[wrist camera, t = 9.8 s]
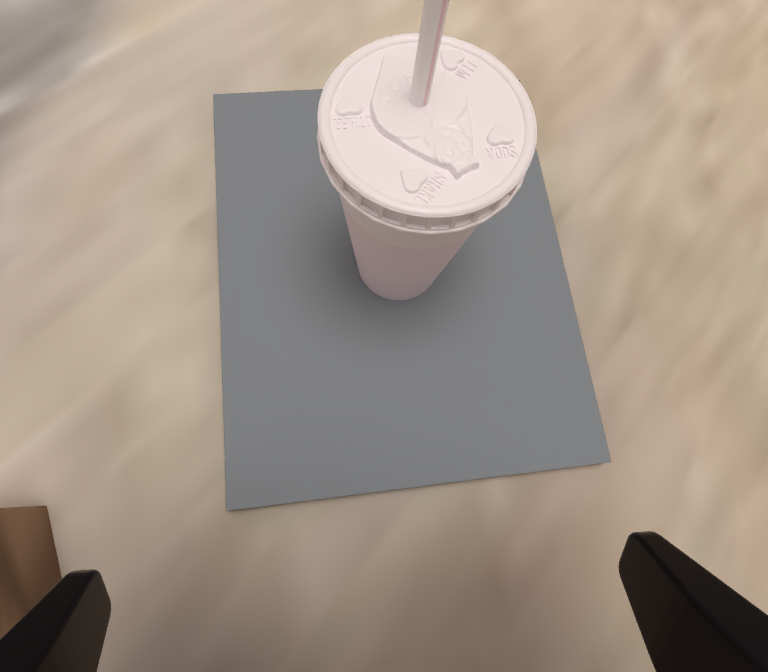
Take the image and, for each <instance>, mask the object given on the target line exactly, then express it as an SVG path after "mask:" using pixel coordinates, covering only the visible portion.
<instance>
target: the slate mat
mask: <svg viewBox="0 0 768 672" xmlns="http://www.w3.org/2000/svg"><path fill="white" fill-rule="evenodd" d="M519 82H520V80H519ZM322 91H323V89H317V90H295V91H274V92H253V93H232V94H213V102H214V133H215V165H216V196H217V227H218V259H219V290H220V321H221V353H222V384H223V416H224V447H225V478H226V510H227V511H230V510H238V509H246V508H254V507H262V506H270V505H278V504H285V503H293V502H301V501H309V500H317V499H325V498H333V497H340V496H348V495H356V494H364V493H372V492H380V491H388V490H395V489H403V488H411V487H419V486H427V485H435V484H443V483H450V482H458V481H466V480H474V479H482V478H490V477H498V476H505V475H513V474H521V473H529V472H537V471H545V470H553V469H560V468H568V467H576V466H584V465H592V464H600V463H608V462H611V458H610V454H609V450H608V446H607V442H606V438H605V433H604V429H603V425H602V421H601V417H600V413H599V408H598V404H597V400H596V396H595V392H594V388H593V383H592V379H591V375H590V371H589V367H588V363H587V359H586V354H585V350H584V346H583V342H582V338H581V334H580V329H579V325H578V321H577V317H576V313H575V309H574V304H573V300H572V296H571V292H570V288H569V284H568V279H567V275H566V271H565V267H564V263H563V259H562V254H561V250H560V246H559V242H558V238H557V234H556V230H555V225H554V221H553V217H552V213H551V209H550V205H549V200H548V196H547V192H546V188H545V184H544V180H543V175H542V171H541V167H540V163H539V159H538V155H537V150H536V147H535V151H534V155H533V158H532V160H531V163H530V165H529V167H528V169H527V171H526V174H525V177H524V179H523V182H522V185H521V187H520V188H519V190H518V191H517V193H516V194H515V195H514V197H513V198H512V199H511V201H510V202H509V203H508V205H507V206H506V207H505V208H503V209H502V210H501V211H499V212H498V213H497V214H495V215H494V216H492V217H491V218H490V219H488V220H487V221H486V222H484V223H481V224H479V225H478V226H477V227H476V229H475V230H474V231H473V232H472V234H471V235H470V236H469V237H468V239H467V240H466V241H465V242H464V244H463V245H462V246H461V248H460V249H459V250H458V251H457V253H456V254H455V255H454V256H453V258H452V259H451V260H450V261H449V263H448V264H447V265H446V267H445V268H444V269H443V270H442V272H441V273H440V274H439V275H438V277H437V278H436V279H435V280H434V282H433V283H432V284H431V285H430V287H429V288H428V289H427V290H426V291H425V292H424V293H422V294H421V295H419V296H417V297H415V298H412V299H409V300H402V301H396V300H389V299H386V298H383V297H381V296H379V295H377V294H375V293H374V292H373V291H371V290H370V289H369V288H368V287H367V286H366V284H365V283H364V282H363V280H362V278H361V276H360V273H359V269H358V265H357V261H356V257H355V253H354V249H353V246H352V242H351V238H350V234H349V230H348V226H347V222H346V218H345V214H344V210H343V206H342V202H341V198H340V195H339V192H338V191H337V190H336V189H335V188H334V187H333V185H332V184H331V182H330V180H329V178H328V176H327V174H326V172H325V170H324V168H323V165H322V163H321V161H320V155H319V148H318V141H317V132H318V106H319V101H320V97H321V93H322Z"/></svg>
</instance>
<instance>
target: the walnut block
mask: <svg viewBox="0 0 768 672" xmlns="http://www.w3.org/2000/svg"><path fill="white" fill-rule="evenodd" d="M61 579H62V577H61V572H60V568H59V563H58V558H57V553H56V548H55V544H54V539H53V534H52V529H51V524H50V520H49V515H48V510H47V506H37V507H17V508H0V639H1V638H2V637H3V636H4V635H5V634H6V633H7V632H8V631H9V630H10V629H11V628H12V627H13V626H14V625H15V624H16V623H17V622H18V621H19V620H20V619H21V618H22V617H23V616H24V615H25V614H26V613H27V612H28V611H29V610H30V609H31V608H32V607H33V606H34V605H36V604H37V603H38V602H39V601H40V600H41V599H42V598H43V597H44V596H45V595H46V594H47V593H48V592H49V591H50V590H51V589H52V588H53V587H54V586H55V585H56V584H57V583H58V582H59V581H60V580H61Z"/></svg>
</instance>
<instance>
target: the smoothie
mask: <svg viewBox="0 0 768 672" xmlns="http://www.w3.org/2000/svg"><path fill="white" fill-rule="evenodd" d="M448 4H449V0H424V6H423V13H422V19H421V26H420V32H419V33H405V34H398V35H392V36H388V37H385V38H381V39H378V40H376V41H373V42H371V43H369V44H367V45H365V46H362V47H361V48H359V49H358V50H356V51H354V52H353V53H352V54H350V55H349V56H348V57H346V58H345V59H344V60H343V61H342V62H341V63H340V64H339V65H338V66H337V67H336V69H335V70H334V71H333V73H332V74H331V75H330V77H329V78H328V80H327V82H326V84H325V86H324V88H323V91H322V93H321V97H320V101H319V106H318V132H317V141H318V148H319V155H320V161H321V163H322V165H323V168H324V170H325V172H326V174H327V176H328V178H329V180H330V182H331V184H332V185H333V187H334V188H335V189H336V190H337V191H338V192H339V195H340V198H341V202H342V206H343V210H344V214H345V218H346V222H347V226H348V230H349V234H350V238H351V242H352V246H353V249H354V253H355V257H356V261H357V265H358V269H359V273H360V276H361V278H362V280H363V282H364V283H365V284H366V286H367V287H368V288H369V289H370V290H371V291H373V292H374V293H375V294H377V295H379V296H381V297H383V298H386V299H389V300H396V301H402V300H409V299H412V298H415V297H417V296H419V295H421V294H422V293H424V292H425V291H426V290H427V289H428V288H429V287H430V285H431V284H432V283H433V282H434V280H435V279H436V278H437V277H438V275H439V274H440V273H441V272H442V270H443V269H444V268H445V267H446V265H447V264H448V263H449V261H450V260H451V259H452V258H453V256H454V255H455V254H456V253H457V251H458V250H459V249H460V248H461V246H462V245H463V244H464V242H465V241H466V240H467V239H468V237H469V236H470V235H471V234H472V232H473V231H474V230H475V229H476V227H477V226H478V225H479V224H481V223H484V222H486V221H487V220H488V219H490V218H491V217H492V216H494V215H495V214H497V213H498V212H499V211H501V210H502V209H503V208H505V207H506V206H507V205H508V203H509V202H510V201H511V199H512V198H513V197H514V195H515V194H516V193H517V191H518V190H519V188H520V187H521V185H522V182H523V179H524V177H525V174H526V171H527V169H528V167H529V165H530V163H531V160H532V158H533V155H534V151H535V147H536V139H537V126H536V118H535V114H534V110H533V107H532V104H531V101H530V99H529V97H528V95H527V93H526V91H525V89H524V88H523V86H522V85H521V83H520V82H519V80H518V79H517V78H516V76H515V75H514V74H513V73H512V72H511V71H510V70H509V69H508V68H507V67H506V66H505V65H504V64H503V63H502V62H500V61H499V60H498V59H496V58H495V57H494V56H492V55H491V54H489V53H488V52H487V51H485V50H483V49H481V48H479V47H477V46H475V45H473V44H471V43H469V42H466V41H463V40H460V39H457V38H454V37H450V36H445V35H442V34H443V29H444V24H445V19H446V14H447V9H448Z"/></svg>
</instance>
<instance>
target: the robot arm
mask: <svg viewBox="0 0 768 672" xmlns="http://www.w3.org/2000/svg"><path fill="white" fill-rule="evenodd" d="M619 573H620V577H621V580H622V583H623V585H624V588H625V591H626V593H627V596H628V599H629V602H630V604H631V607H632V610H633V612H634V615H635V618H636V621H637V623H638V626H639V629H640V631H641V634H642V637H643V640H644V642H645V645H646V648H647V650H648V653H649V655H650V658H651V660H652V663H653V665H654V668H655V670H656V672H768V615H767V614H765V613H764V612H763V611H761V610H760V609H759V608H757V607H756V606H755V605H753V604H752V603H751V602H749V601H748V600H747V599H745V598H744V597H743V596H741V595H740V594H738V593H737V592H736V591H734V590H733V589H732V588H730V587H729V586H728V585H726V584H725V583H724V582H722V581H721V580H720V579H718V578H717V577H716V576H714V575H713V574H712V573H710V572H709V571H708V570H706V569H705V568H704V567H702V566H701V565H699V564H698V563H697V562H695V561H694V560H693V559H691V558H690V557H689V556H687V555H686V554H685V553H683V552H682V551H681V550H679V549H678V548H677V547H675V546H674V545H673V544H671V543H670V542H669V541H667V540H666V539H664V538H663V537H662V536H660V535H659V534H657V533H655V532H651V531H647V532H634V533H632V534H630V535H629V537H628V539H627V542H626V544H625V547H624V550H623V552H622V555H621V558H620V561H619ZM110 613H111V602H110V598H109V595H108V592H107V590H106V587H105V584H104V582H103V579H102V576H101V574H100V572H98V571H97V570H80V571H73V572H70V573H68V574H67V575H65V576H64V577H63V578H62V579H61V580H60V581H59V582H58V583H57V584H56V585H55V586H54V587H53V588H52V589H51V590H50V591H49V592H48V593H47V594H46V595H45V596H44V597H43V598H42V599H41V600H40V601H39V602H38V603H37V604H36V605H34V606H33V607H32V608H31V609H30V610H29V611H28V612H27V613H26V614H25V615H24V616H23V617H22V618H21V619H20V620H19V621H18V622H17V623H16V624H15V625H14V626H13V627H12V628H11V629H10V630H9V631H8V632H7V633H6V634H5V635H4V636H3V637H2V638H1V639H0V672H97V668H98V664H99V660H100V656H101V652H102V647H103V643H104V639H105V635H106V631H107V627H108V623H109V618H110Z"/></svg>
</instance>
